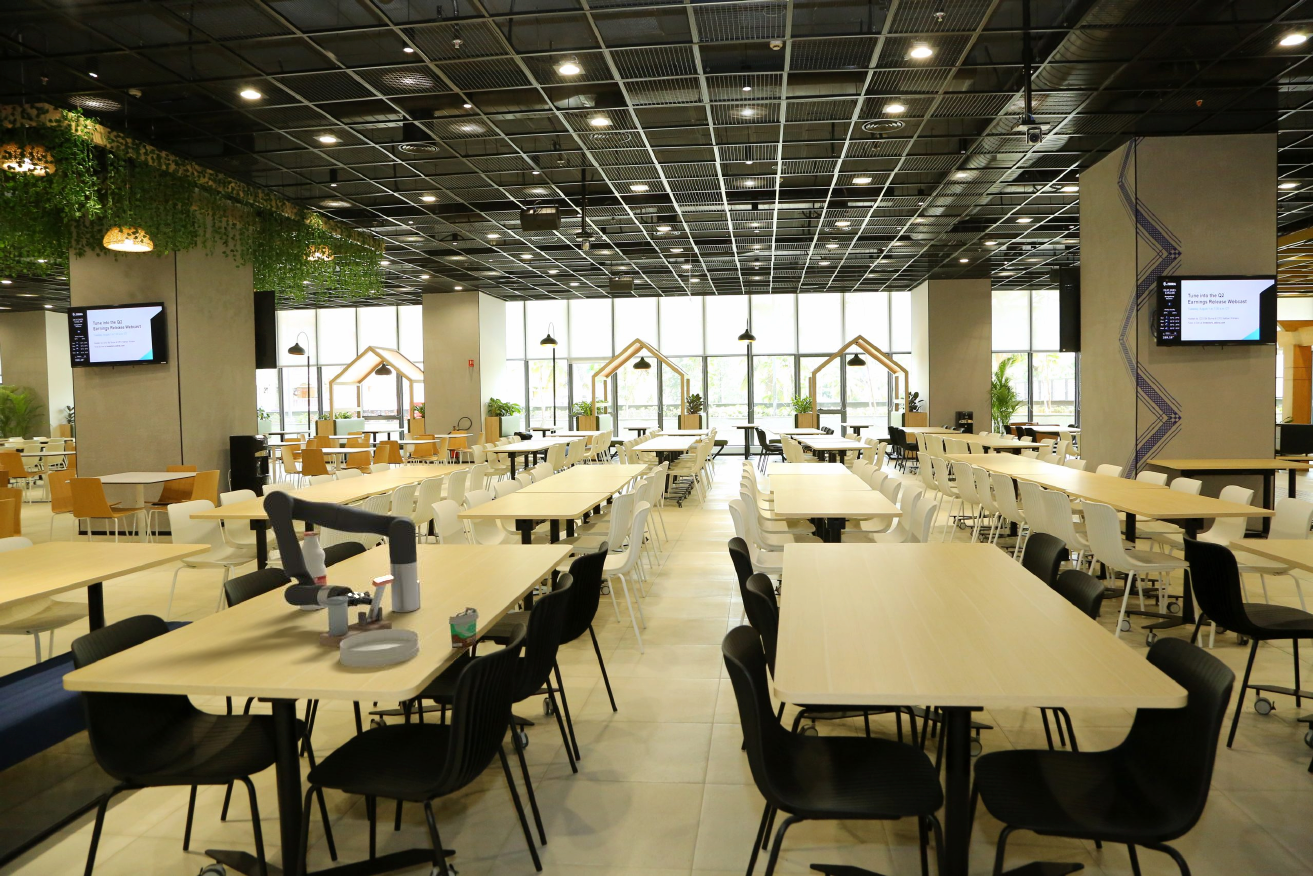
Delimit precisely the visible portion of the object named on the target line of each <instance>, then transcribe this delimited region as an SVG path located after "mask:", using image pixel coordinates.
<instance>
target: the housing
mask: <svg viewBox="0 0 1313 876" xmlns="http://www.w3.org/2000/svg"><path fill="white" fill-rule="evenodd" d="M376 615H378V617H379V619H378V621H375V622H372V623H369V624H367V616H368V615H367V611H359V612H357V622H355V623H352V624H348V632H349V633H348V634H346V635H343V636H336V637H333V636H329V631H328V632H325V633H321V634H319V645H320V644H321V645H322V646H326V645H329V646H328V647H333V646H335V648H340V642H341V641H342V640H344V639H346V638H348V637H350V636H353V635H356V634H360V633H364V632H369V631H375V630H383V629H393V627H392V621H389V620H383V617H384V616H383V607H382V606H379V608H378V611H377V614H376Z"/></svg>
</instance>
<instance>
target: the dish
mask: <svg viewBox="0 0 1313 876" xmlns="http://www.w3.org/2000/svg"><path fill="white" fill-rule="evenodd" d="M418 652H420V645H419V635H418V633H417V632H415V631H413V630H411V629H404V628H403V629H402V628H401V629H399V628H392V629H383V630H375V631H369V632H364V633H360V634H356V635H353V636H350V637H348V638H346V639H344V640H342V641H341V642H340V647H339V662H340V663H341V664H342V665H344V666H347V667H351V666H354V667H353V668H377V667H376V666H378V667H384V665H386V666H390V665H389V664H391V665H395V664H394V663H396V664H399V663H402V661H403V662H406V661H408V660H411V659H413V658H414V657H416V656H417V655H418V654H419V653H418ZM417 653H418V654H417ZM416 654H417V655H416ZM415 655H416V656H415ZM398 662H399V663H398Z"/></svg>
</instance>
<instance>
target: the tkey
mask: <svg viewBox="0 0 1313 876" xmlns="http://www.w3.org/2000/svg"><path fill="white" fill-rule="evenodd" d="M392 581H393V577H392V576H391V574H388V575H386V576H385V575H384V576H381V577H377V578H375V579H373V580H372V583H371V585H372V586H373V587H375V592H374V595H373V596H372V597H373V600H372V603H371V605H370V607H369V610H368V613H367V615H366V616H367V624H369V623H372V622H375V621H378V619H379V617H378V615H376V614H377V611H378V608H379V607H380V605H381V601H382V598H383V596H384V595H383V594H384V592H385V589H386V586H387V585H388V584H391V583H392Z"/></svg>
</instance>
